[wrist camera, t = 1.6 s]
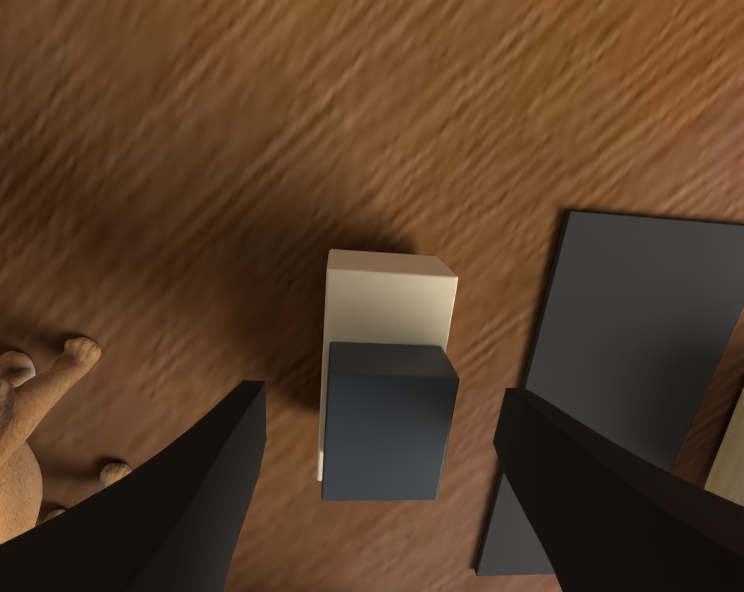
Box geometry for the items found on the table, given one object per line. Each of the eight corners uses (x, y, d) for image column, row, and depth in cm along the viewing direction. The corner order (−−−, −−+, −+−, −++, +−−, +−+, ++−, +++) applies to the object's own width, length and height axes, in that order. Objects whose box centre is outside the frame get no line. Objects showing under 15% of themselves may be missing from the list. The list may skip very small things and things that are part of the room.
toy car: (408, 422, 17) (437, 531, 12) (321, 420, 16) (312, 533, 11) (432, 252, 14) (483, 299, 9) (329, 245, 14) (323, 290, 9)
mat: (621, 567, 22) (625, 572, 21) (474, 570, 21) (476, 576, 20) (770, 227, 15) (779, 228, 15) (566, 210, 14) (570, 211, 14)
